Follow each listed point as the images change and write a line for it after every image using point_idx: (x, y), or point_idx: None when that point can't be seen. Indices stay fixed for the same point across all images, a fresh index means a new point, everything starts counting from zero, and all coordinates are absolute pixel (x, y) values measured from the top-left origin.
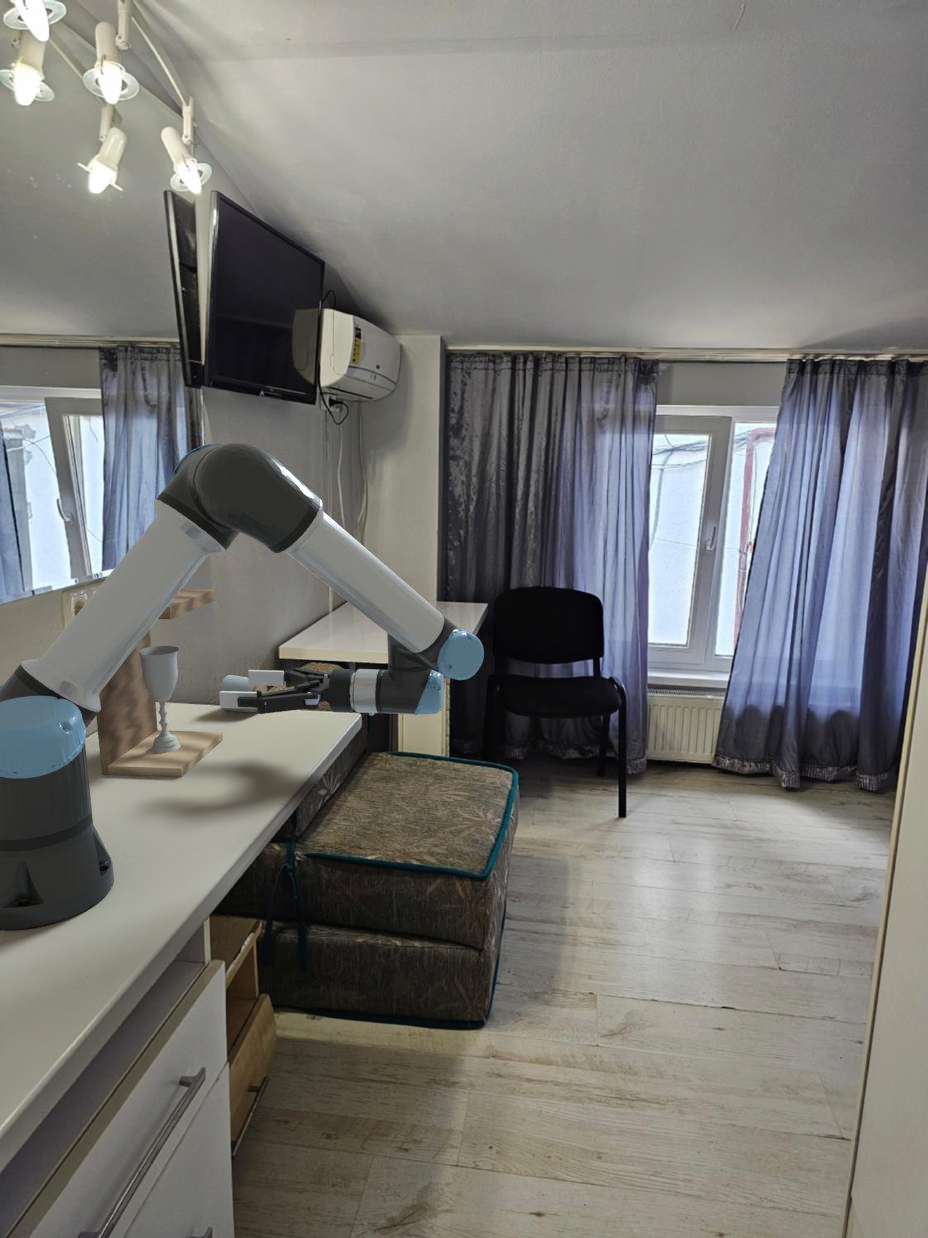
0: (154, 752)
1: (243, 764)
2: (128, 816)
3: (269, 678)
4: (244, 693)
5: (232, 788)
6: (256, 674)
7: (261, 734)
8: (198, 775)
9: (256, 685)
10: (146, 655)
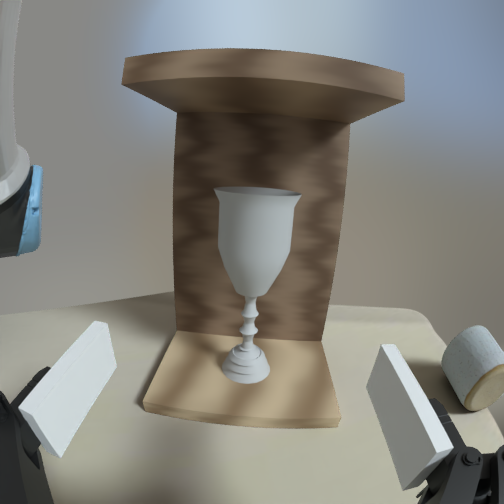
0: (224, 360)
1: (196, 498)
2: (39, 367)
3: (399, 425)
4: (49, 374)
5: (69, 479)
6: (388, 375)
7: (387, 474)
8: (147, 432)
9: (492, 371)
10: (216, 188)
